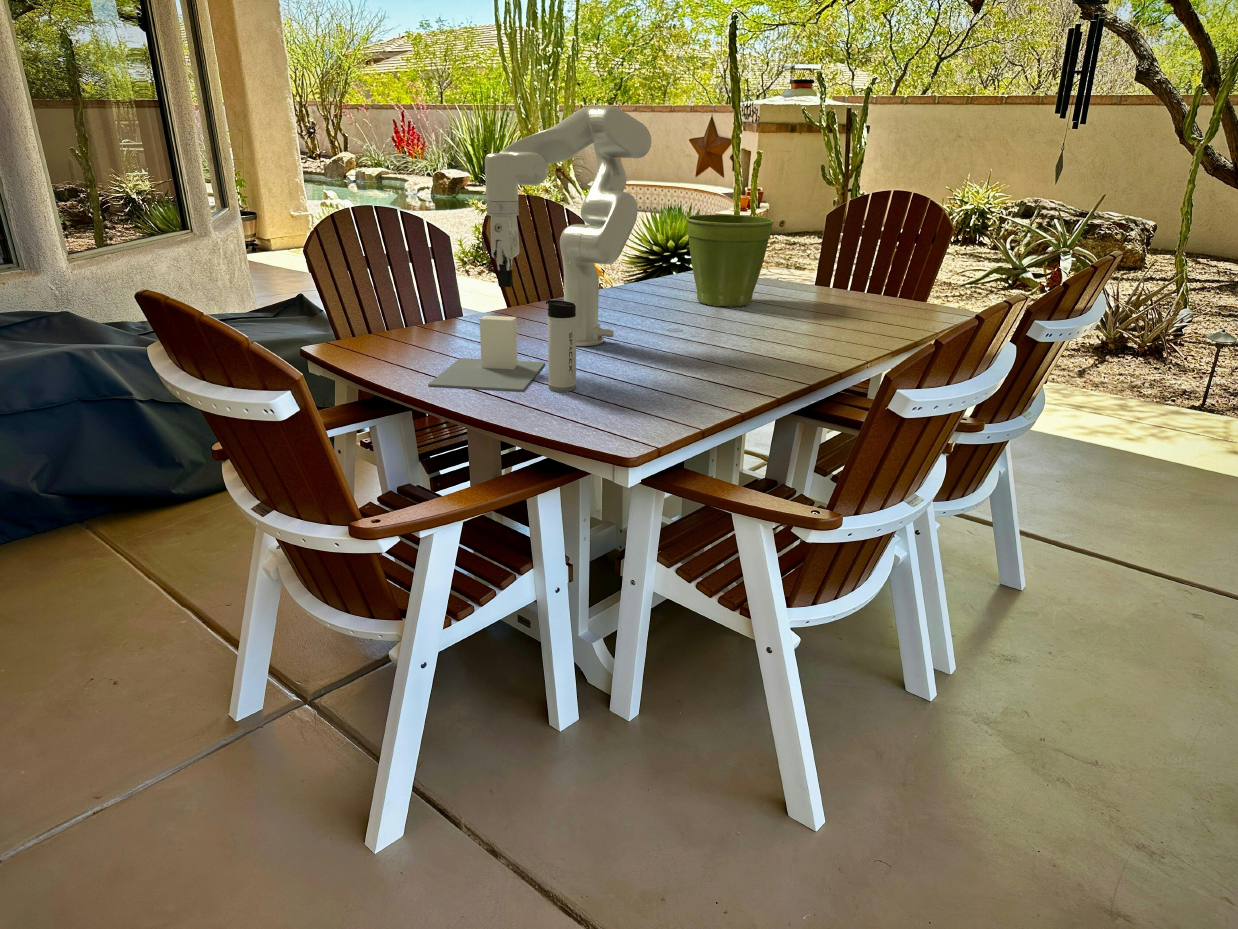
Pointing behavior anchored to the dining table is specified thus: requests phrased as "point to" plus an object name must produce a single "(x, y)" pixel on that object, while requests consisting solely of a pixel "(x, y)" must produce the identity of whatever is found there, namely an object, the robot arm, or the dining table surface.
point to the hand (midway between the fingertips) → (505, 286)
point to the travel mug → (561, 345)
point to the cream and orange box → (498, 342)
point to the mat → (487, 376)
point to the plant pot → (727, 256)
